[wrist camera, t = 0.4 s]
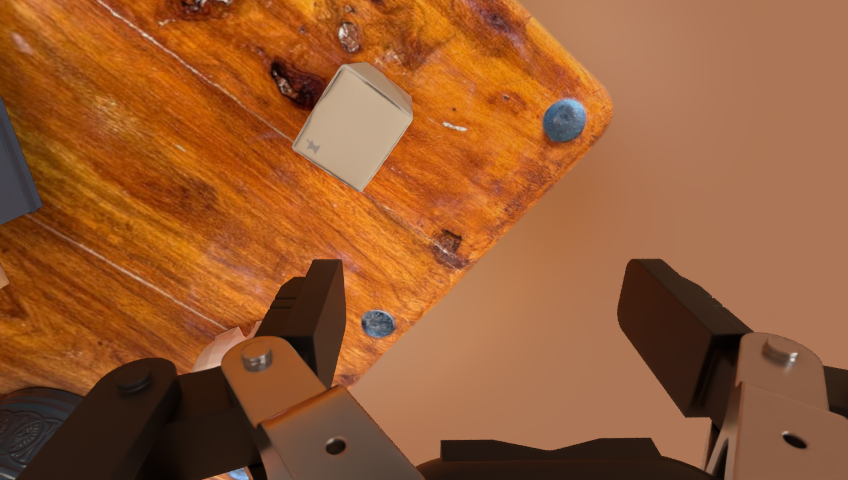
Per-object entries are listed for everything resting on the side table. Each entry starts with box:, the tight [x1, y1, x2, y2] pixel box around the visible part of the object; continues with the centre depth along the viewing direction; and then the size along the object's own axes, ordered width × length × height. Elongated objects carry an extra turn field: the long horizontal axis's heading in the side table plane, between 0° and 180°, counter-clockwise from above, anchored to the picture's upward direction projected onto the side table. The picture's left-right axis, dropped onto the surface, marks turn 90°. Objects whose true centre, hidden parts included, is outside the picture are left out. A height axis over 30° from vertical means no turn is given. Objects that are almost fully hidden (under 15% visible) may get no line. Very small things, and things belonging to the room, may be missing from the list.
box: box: [292, 62, 413, 192], centre depth 27 cm, size 5×4×11 cm
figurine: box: [192, 320, 262, 372], centre depth 34 cm, size 8×5×12 cm, turn 107°
